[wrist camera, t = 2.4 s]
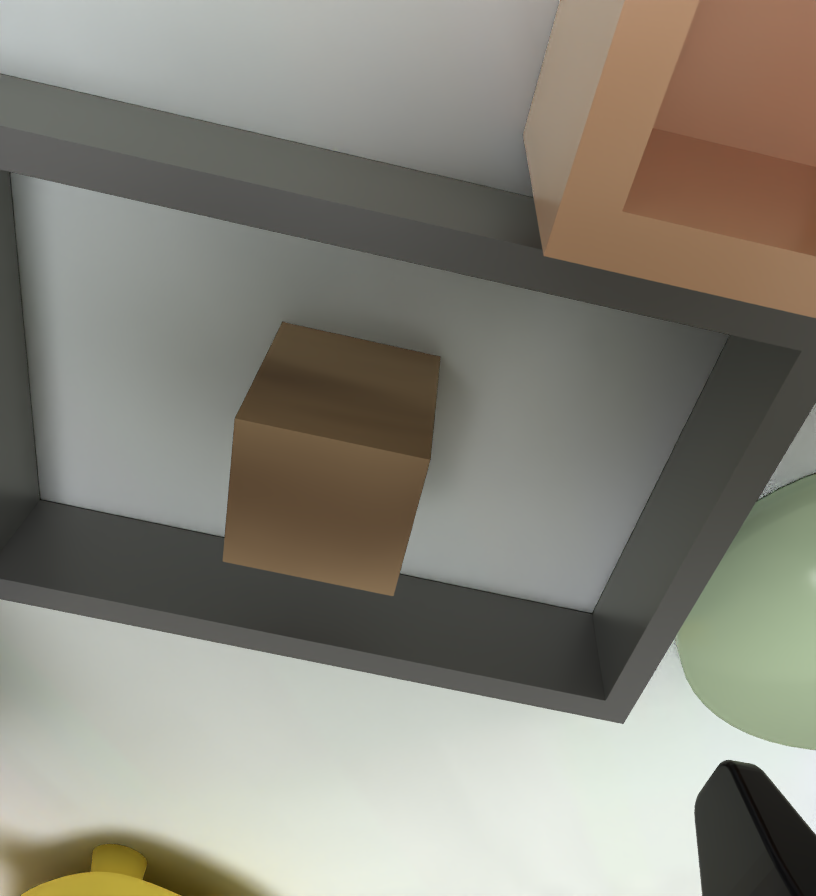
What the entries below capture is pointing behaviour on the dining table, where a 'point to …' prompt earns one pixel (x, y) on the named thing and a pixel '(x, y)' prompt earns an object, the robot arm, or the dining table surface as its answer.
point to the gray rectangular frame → (415, 600)
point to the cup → (681, 144)
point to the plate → (761, 623)
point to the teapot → (105, 877)
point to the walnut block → (331, 459)
